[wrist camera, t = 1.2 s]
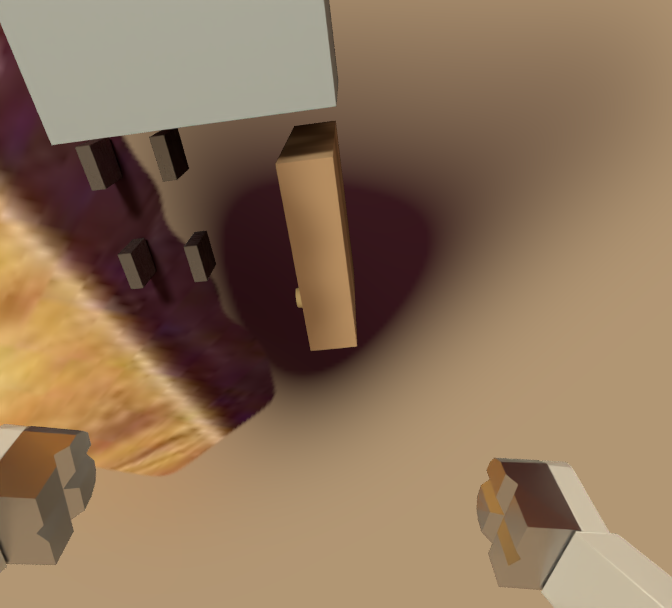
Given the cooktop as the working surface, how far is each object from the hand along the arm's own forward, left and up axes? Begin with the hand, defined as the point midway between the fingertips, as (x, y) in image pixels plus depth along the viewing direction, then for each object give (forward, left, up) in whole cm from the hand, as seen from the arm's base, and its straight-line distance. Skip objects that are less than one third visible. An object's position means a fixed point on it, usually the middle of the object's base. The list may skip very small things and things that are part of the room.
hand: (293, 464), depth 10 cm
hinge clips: (+14, +2, -29) cm, 32 cm away
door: (+1, +4, -29) cm, 29 cm away
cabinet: (+6, -9, -29) cm, 31 cm away
